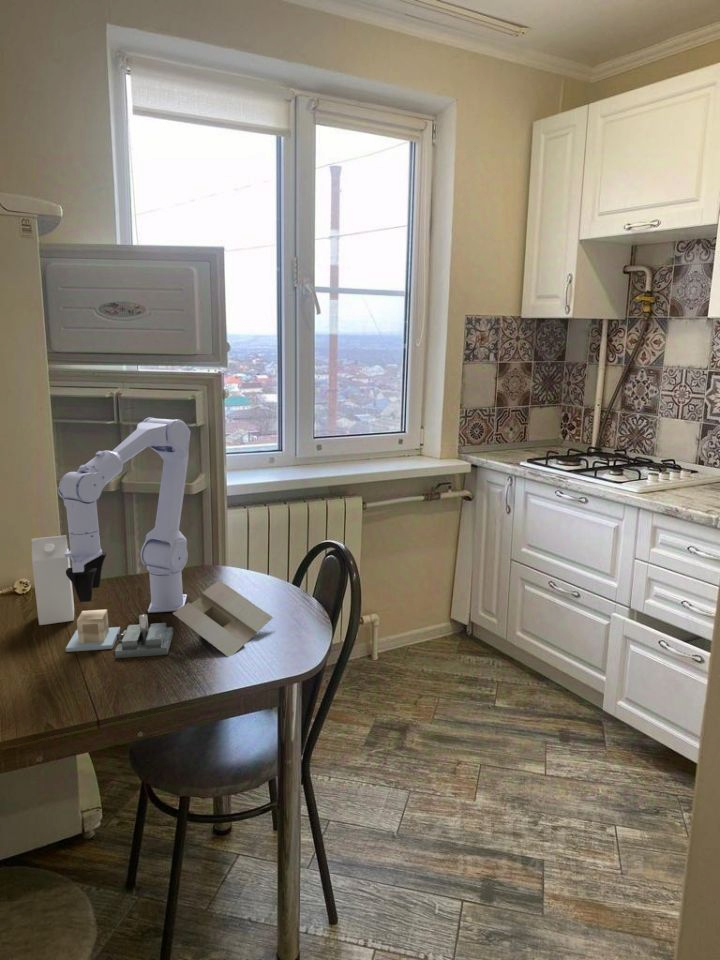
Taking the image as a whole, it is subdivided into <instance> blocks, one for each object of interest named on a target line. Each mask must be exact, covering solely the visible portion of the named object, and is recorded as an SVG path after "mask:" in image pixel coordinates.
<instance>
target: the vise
mask: <svg viewBox="0 0 720 960" xmlns="http://www.w3.org/2000/svg"><path fill="white" fill-rule="evenodd" d="M138 618H139V624H128V625H127V629H124V630H123V632H122V633H119V634H117V639H116V641H118V643H117V645H116V648H115V650H114V654H115V659H121V658H122V659H123V658H135V657H149V656H150V657H151V656H164V655H168V653H169V650H170V646H171V643H172V639H173V636H174V628H173V626H169V627H167V622H160V623H159V622H156V623H150V626H149V622H148V621H149V620H148V614H145V613H144V614H140V615H138Z"/></svg>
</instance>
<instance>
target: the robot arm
mask: <svg viewBox="0 0 720 960" xmlns="http://www.w3.org/2000/svg"><path fill="white" fill-rule="evenodd" d="M191 433H192V432H191V430H190V429H189V427H188V425H187V424H186V423H185V421H183V420H181V419H169V418H168V419H167V418H155V417H147V418H145V419H143V420H142V421H141V422H139V423H138V424H137V425H136V429H135V430H134V431H132V432H131V434H129V435H128V436H127V437H126V438H125V439H124V440H123V441H122V442H121V443H119V444H118V445H117V446H116V447H115V448H114V449H112V450H107V449H106V450H98V451H97V452H95V454H94V455H95V456H94V457H93V458H92V459H90V460H89V461H88V462H87V463H85V464H81V465H80V466H78V469H77V471H70V472H69V471H68V472H67V473H65V474H64V475H63V476H62V477H61V479H60V481H59V485H58V486H59V487H57V493H58V495H59V496H60V498H61V499H62V500H63V506H64V507H65V509H66V510H65V511H66V517H67V518H66V520H67V530H68V537H69V549H70V550H69V551H67V552H66V553H65V557H69V559H70V561H71V567H70V568H68V569H67V570H66V575H67V577H68V578H69V579H70V580H71V582H72V586H73V587H74V589H75V593H76V595H77V598H78V601H79V602H80V603H85V602H87V603H89V602H91V601H92V599H93V589H97V588H100V586H101V579H102V578H101V577H102V570H103V565H104V563H105V562H104V561H105V558H106V556H107V552H106V551H103V550H102V547H101V540H100V539H101V538H100V528H99V527H100V526H99V518H98V516H99V515H98V505H97V504H98V503H97V501H98V500H99V498H100V496H101V495H102V492H103V489H104V488H105V487H106V485H107V484H108V483H109V482H112V481H113V480H114V479H115V478H116V477H117V476H119V475H120V474H121V473H122V472H123V471H124V470H123V469H124V464H125V463H127V462H128V461H129V460H131V459H132V458H134V457H135V456H136V455H138V454H139V453H141V452H142V451H144V450H145V449H146V448H150V449H151V450H153V451H154V452H156V453H157V454H158V455H159V457H160V458H161V459H162V460H163V463H162V473H161V478H160V479H161V480H160V486H159V496H158V502H157V507H156V508H157V509H156V517H155V523H154V527H153V528H152V529H151V530H150V531H149V532H148V533H147V534H146V535H145V540H144V543H143V545H142V546H141V549H140V553H139V555H140V560H141V563H142V564H143V565H144V566H146V571H148V573H149V585H150V586H149V587H150V588H149V589H150V601H151V602H150V604H149V606H148V609H147V612H148V613H152V614H153V613H164V612H165V613H166V612H168V613H169V612H175V611H177V610H178V609H179V608H181V607H182V606H184V605H185V604H186V602H187V597H188V595H187V594H186V593H183V590H184V589H183V577H182V571H183V570H184V568H185V567H186V564H187V562H188V557H189V552H188V548H187V547H188V540H187V538H186V536H185V535H183V533H182V531H180V526H181V524H180V523H181V517H182V510H183V503H184V502H183V501H184V495H185V494H184V493H185V488H186V481H187V480H186V479H187V472H188V464H189V458H190V457H189V455H190V453H189V452H190V451H189V448H190V440H191Z"/></svg>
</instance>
